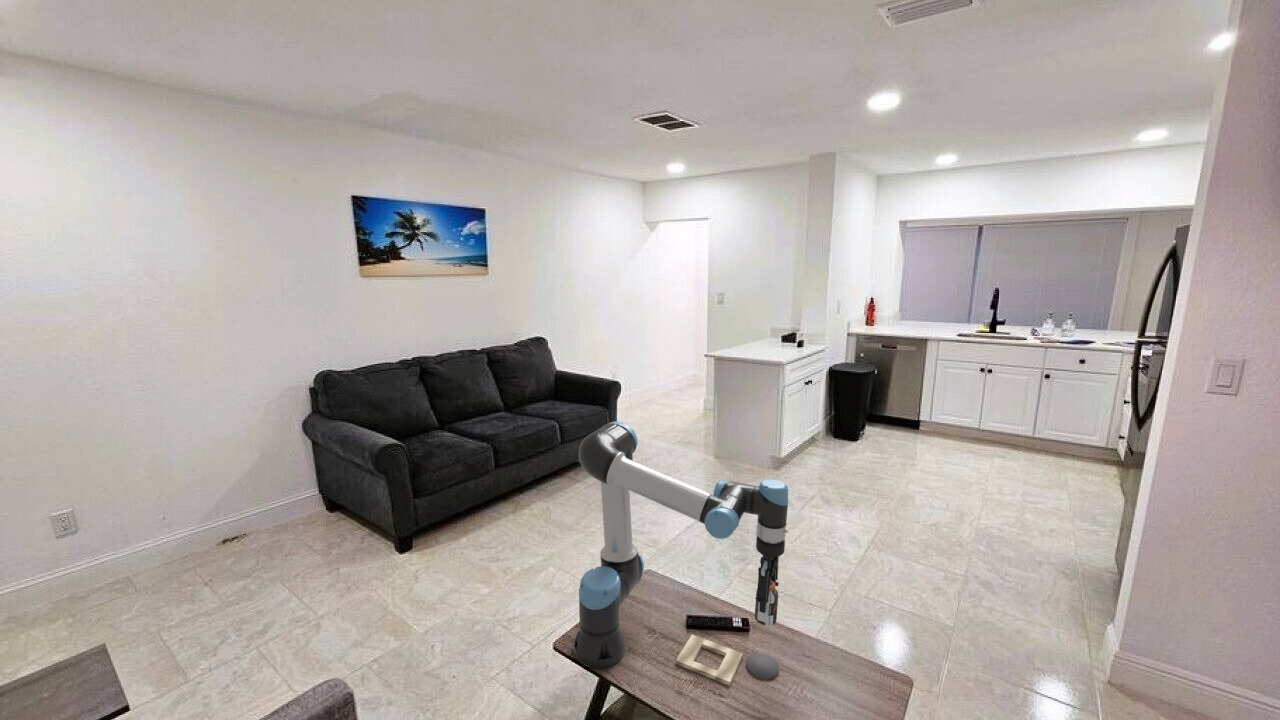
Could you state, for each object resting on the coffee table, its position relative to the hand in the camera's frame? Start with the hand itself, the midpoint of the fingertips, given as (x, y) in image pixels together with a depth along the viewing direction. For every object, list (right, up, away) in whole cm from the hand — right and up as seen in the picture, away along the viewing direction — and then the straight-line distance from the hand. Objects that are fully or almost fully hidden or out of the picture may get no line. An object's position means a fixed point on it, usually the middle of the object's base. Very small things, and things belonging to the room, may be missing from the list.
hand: (765, 613), depth 144 cm
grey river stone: (0, -17, +3) cm, 17 cm away
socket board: (-15, -16, +5) cm, 23 cm away
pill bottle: (0, -2, 0) cm, 2 cm away
